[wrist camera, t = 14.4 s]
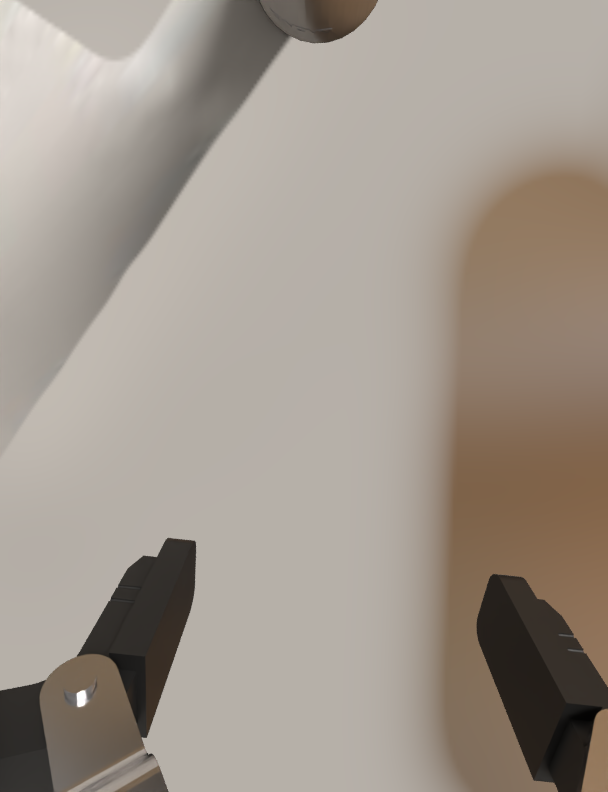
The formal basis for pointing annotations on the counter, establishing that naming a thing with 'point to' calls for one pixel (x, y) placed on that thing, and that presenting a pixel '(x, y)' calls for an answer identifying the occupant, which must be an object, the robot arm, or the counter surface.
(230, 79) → the counter surface
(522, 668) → the robot arm
